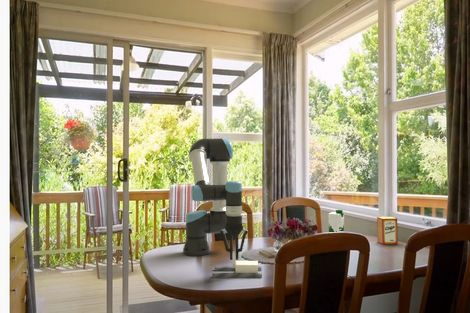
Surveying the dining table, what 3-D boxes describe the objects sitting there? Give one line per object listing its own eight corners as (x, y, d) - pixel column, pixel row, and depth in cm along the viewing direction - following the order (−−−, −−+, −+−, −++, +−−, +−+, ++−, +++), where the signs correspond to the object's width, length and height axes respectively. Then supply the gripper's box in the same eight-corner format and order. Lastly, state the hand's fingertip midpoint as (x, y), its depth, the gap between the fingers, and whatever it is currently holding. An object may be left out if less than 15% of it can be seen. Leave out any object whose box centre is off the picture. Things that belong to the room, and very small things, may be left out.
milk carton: (340, 243, 222) (339, 211, 223) (326, 241, 228) (326, 210, 229) (346, 241, 229) (345, 209, 230) (332, 239, 235) (332, 208, 235)
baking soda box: (392, 241, 226) (391, 216, 226) (397, 244, 219) (397, 217, 220) (377, 242, 225) (377, 216, 225) (382, 244, 218) (382, 218, 219)
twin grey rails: (212, 277, 158) (212, 274, 159) (214, 269, 170) (214, 266, 170) (262, 277, 157) (261, 274, 157) (261, 269, 169) (261, 266, 169)
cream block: (235, 276, 160) (235, 264, 160) (236, 271, 167) (236, 260, 167) (258, 276, 159) (257, 265, 160) (257, 271, 166) (257, 260, 167)
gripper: (218, 216, 161) (219, 269, 160) (247, 216, 160) (248, 269, 160) (220, 213, 169) (221, 264, 168) (248, 213, 168) (248, 264, 167)
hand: (234, 266), depth 164 cm, fingers closed
